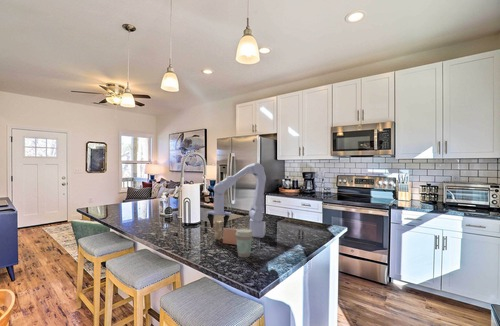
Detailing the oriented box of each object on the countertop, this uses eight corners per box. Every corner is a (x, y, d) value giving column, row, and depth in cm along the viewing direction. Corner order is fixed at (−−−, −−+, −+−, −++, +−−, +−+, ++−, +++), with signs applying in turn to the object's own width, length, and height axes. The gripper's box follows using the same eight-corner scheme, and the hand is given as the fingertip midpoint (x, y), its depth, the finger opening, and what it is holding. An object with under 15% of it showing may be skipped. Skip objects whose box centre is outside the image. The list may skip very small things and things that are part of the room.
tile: (237, 243, 133) (237, 228, 133) (236, 244, 132) (236, 229, 131) (223, 242, 135) (224, 227, 135) (222, 243, 134) (222, 228, 134)
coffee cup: (231, 254, 117) (231, 230, 117) (244, 250, 123) (244, 226, 123) (243, 260, 111) (243, 234, 111) (256, 255, 117) (256, 230, 117)
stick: (221, 238, 142) (222, 221, 142) (219, 239, 139) (220, 222, 139) (216, 237, 142) (217, 220, 142) (214, 239, 140) (215, 222, 139)
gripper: (232, 203, 143) (232, 226, 143) (209, 202, 146) (208, 225, 146) (229, 205, 136) (229, 230, 136) (205, 204, 139) (204, 228, 139)
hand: (218, 227), depth 140 cm, fingers open, 7 cm apart
